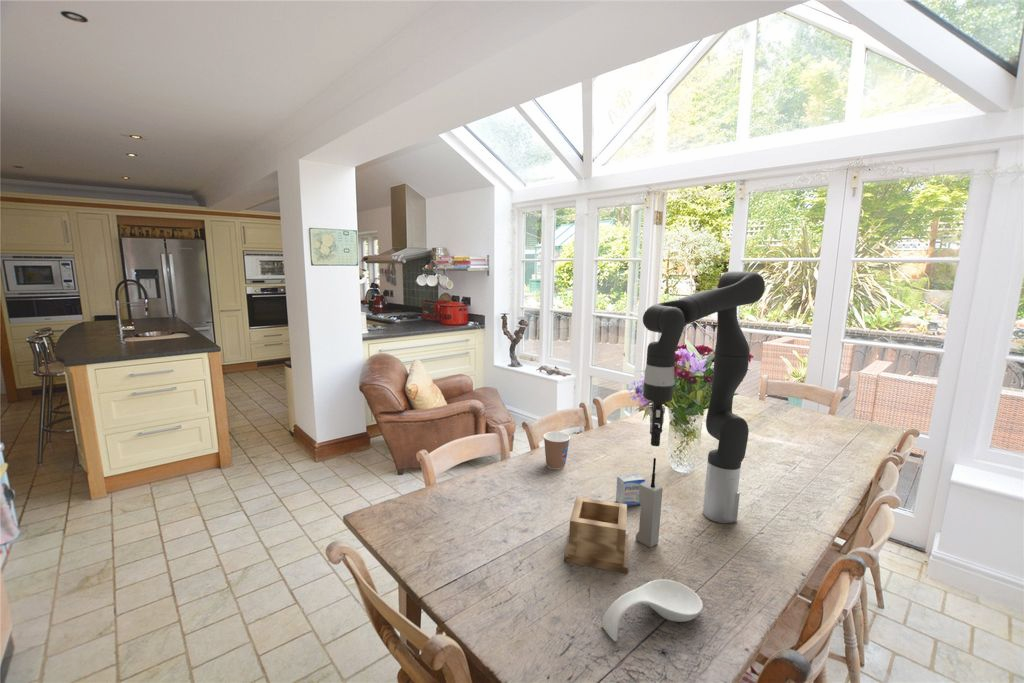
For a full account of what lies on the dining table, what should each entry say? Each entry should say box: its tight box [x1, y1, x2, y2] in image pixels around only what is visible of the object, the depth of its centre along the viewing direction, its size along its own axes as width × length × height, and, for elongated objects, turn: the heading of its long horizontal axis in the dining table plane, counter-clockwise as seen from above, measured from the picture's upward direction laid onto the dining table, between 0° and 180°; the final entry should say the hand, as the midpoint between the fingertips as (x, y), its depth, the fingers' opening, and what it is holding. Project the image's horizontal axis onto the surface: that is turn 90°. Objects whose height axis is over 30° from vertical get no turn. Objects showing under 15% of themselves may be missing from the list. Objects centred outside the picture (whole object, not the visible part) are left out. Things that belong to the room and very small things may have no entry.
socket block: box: [563, 496, 630, 574], centre depth 121 cm, size 16×15×11 cm
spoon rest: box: [601, 578, 704, 642], centre depth 97 cm, size 24×12×7 cm, turn 115°
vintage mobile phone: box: [635, 457, 663, 548], centre depth 124 cm, size 4×5×25 cm
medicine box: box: [615, 473, 646, 507], centre depth 146 cm, size 8×4×9 cm, turn 105°
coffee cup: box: [543, 431, 571, 470], centre depth 172 cm, size 10×10×12 cm
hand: (654, 439), depth 121 cm, fingers open, 8 cm apart
